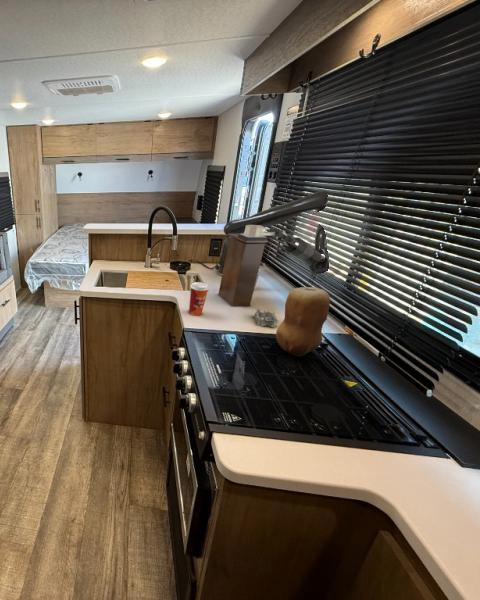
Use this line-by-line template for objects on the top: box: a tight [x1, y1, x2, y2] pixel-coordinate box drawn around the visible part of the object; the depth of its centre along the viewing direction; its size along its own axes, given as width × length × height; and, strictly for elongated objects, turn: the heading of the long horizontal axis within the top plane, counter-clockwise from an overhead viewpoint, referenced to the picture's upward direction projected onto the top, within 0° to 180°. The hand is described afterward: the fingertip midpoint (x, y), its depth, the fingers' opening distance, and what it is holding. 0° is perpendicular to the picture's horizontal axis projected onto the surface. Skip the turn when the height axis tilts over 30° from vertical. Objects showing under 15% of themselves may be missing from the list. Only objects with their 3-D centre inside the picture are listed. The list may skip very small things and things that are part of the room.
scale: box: [238, 234, 269, 241], centre depth 137 cm, size 8×10×2 cm
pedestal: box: [217, 233, 269, 307], centre depth 148 cm, size 16×10×32 cm, turn 2°
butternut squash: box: [275, 286, 331, 357], centre depth 106 cm, size 14×13×25 cm
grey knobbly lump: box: [253, 307, 279, 328], centre depth 132 cm, size 11×8×4 cm
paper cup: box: [188, 281, 210, 317], centre depth 138 cm, size 8×8×14 cm
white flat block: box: [244, 225, 286, 237], centre depth 137 cm, size 7×18×4 cm, turn 92°
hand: (272, 230), depth 137 cm, fingers open, 4 cm apart
